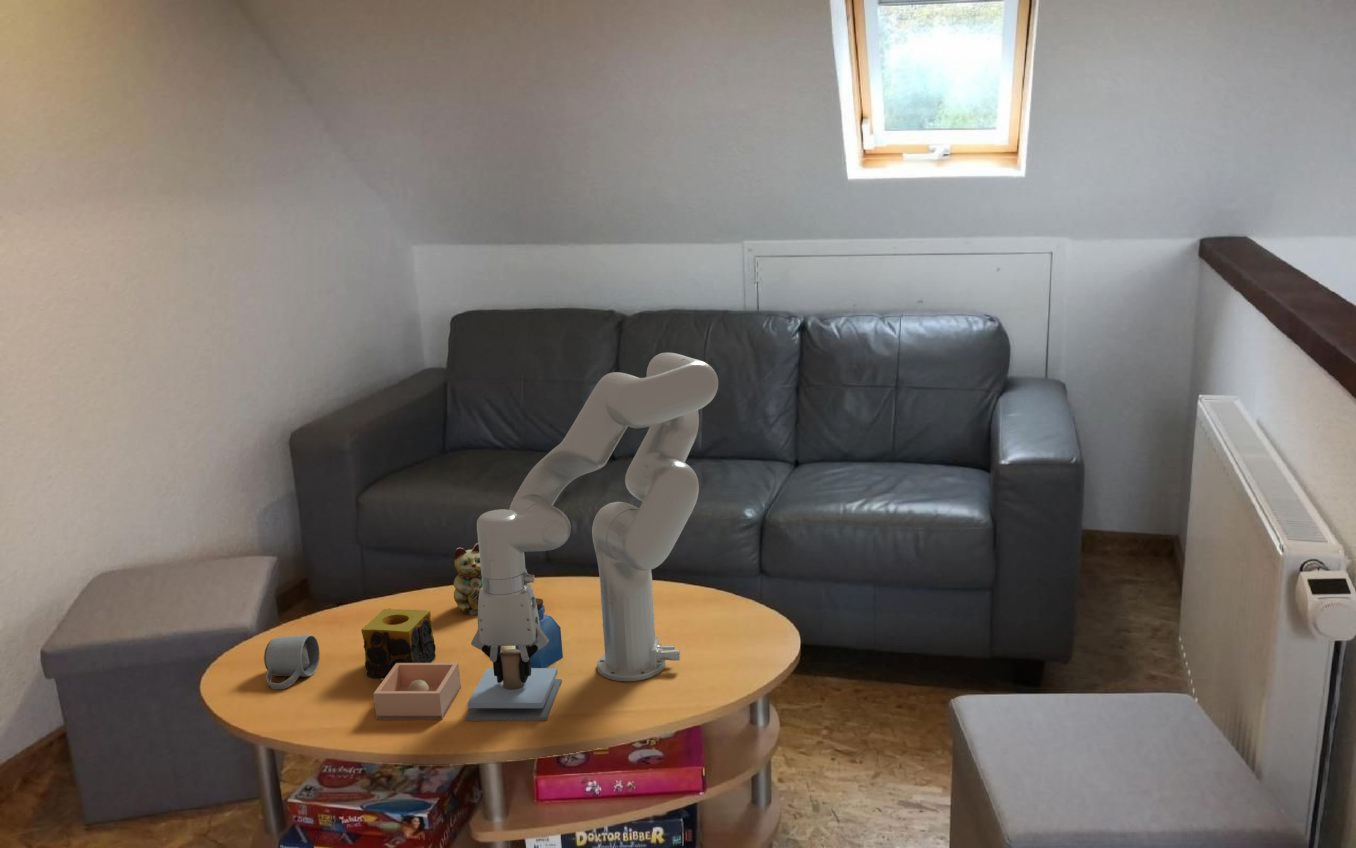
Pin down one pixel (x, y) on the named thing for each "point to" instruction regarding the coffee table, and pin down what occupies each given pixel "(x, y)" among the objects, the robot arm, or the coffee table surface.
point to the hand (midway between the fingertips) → (513, 678)
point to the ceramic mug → (291, 658)
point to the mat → (516, 710)
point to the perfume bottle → (554, 646)
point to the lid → (513, 685)
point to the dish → (417, 704)
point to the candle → (397, 640)
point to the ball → (418, 686)
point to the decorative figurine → (468, 579)
